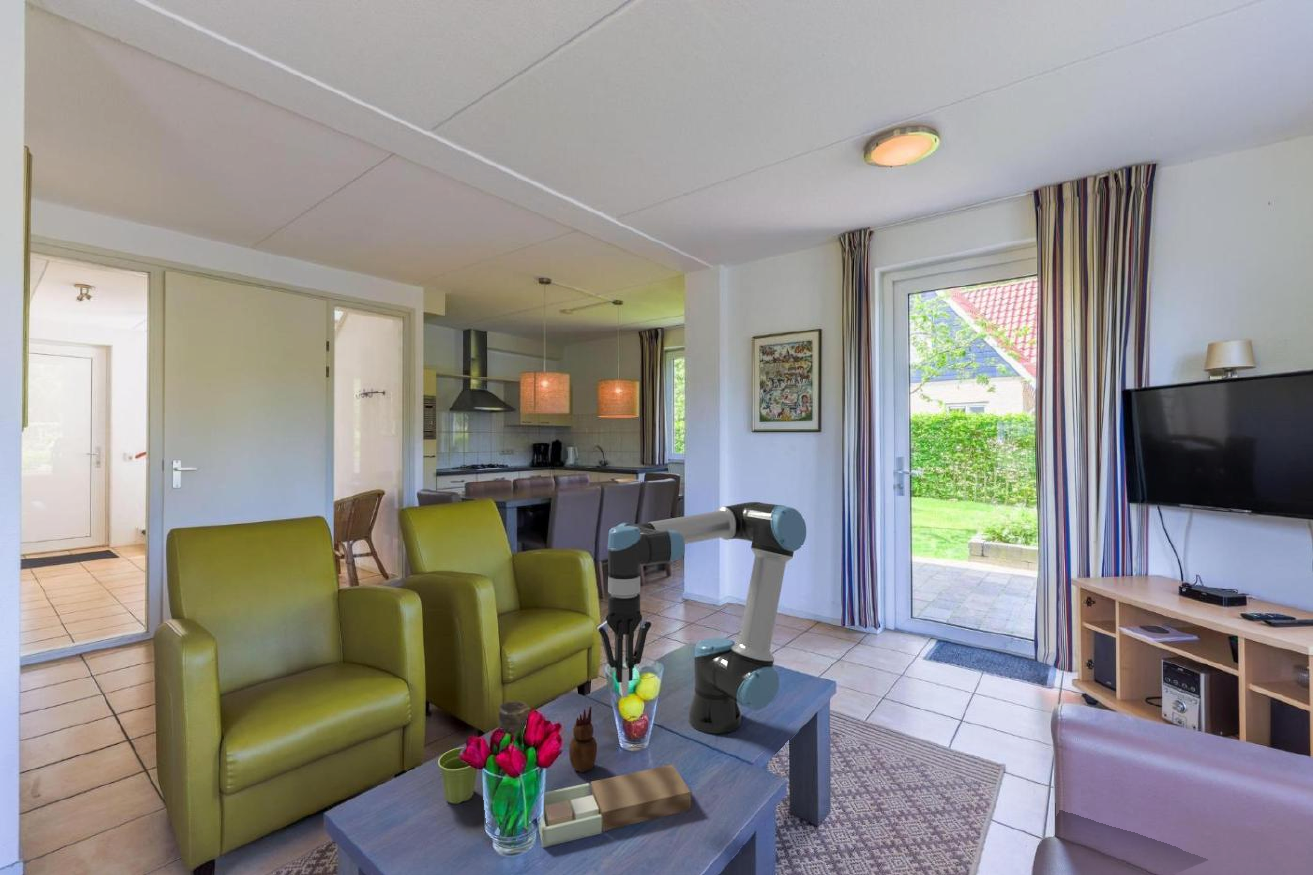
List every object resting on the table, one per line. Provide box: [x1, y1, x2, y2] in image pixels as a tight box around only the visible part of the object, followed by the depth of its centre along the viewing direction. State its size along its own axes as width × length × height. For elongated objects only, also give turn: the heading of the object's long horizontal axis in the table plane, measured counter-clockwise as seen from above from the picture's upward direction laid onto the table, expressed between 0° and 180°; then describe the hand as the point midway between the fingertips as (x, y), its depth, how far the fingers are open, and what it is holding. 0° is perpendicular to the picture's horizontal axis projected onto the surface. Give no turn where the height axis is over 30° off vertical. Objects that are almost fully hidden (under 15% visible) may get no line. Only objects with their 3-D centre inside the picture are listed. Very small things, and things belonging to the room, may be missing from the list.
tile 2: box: [571, 794, 599, 820], centre depth 122 cm, size 5×5×2 cm
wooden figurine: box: [568, 706, 598, 773], centre depth 141 cm, size 7×6×15 cm
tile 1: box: [545, 801, 572, 826], centre depth 120 cm, size 5×5×2 cm
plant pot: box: [437, 746, 478, 804], centre depth 130 cm, size 9×9×9 cm
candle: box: [498, 701, 531, 735], centre depth 131 cm, size 8×7×20 cm
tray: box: [538, 782, 603, 848], centre depth 121 cm, size 12×12×4 cm
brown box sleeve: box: [590, 764, 692, 832], centre depth 127 cm, size 20×11×4 cm, turn 110°
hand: (624, 694), depth 132 cm, fingers closed
